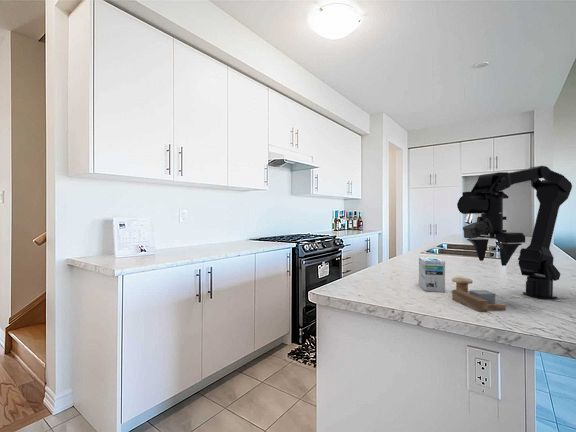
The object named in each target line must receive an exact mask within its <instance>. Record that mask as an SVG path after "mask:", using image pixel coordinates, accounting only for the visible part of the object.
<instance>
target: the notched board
mask: <svg viewBox="0 0 576 432" xmlns="http://www.w3.org/2000/svg"><path fill="white" fill-rule="evenodd" d="M451 294H452V301H455V302H457V303H459V304H461V305H463V306H465V307H467V308H470V309H472V310H474V311H476V312H478V313H488V312H489V311H490V312H491V311H492V312H495V311H496V312H497V311H500V312H501V311H506V309H507V306H506V305H507V304H504V303H495V304H487V301H486V300H484V299H481V298H479V297H476V296H474V295H471V294H469V293H466V292H464V291H461V290H456V289H452V290H451Z"/></svg>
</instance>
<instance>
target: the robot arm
mask: <svg viewBox="0 0 576 432" xmlns="http://www.w3.org/2000/svg"><path fill="white" fill-rule="evenodd" d="M541 179H542V180H541ZM529 181H530V185H531V187H532V189H534V190H535V191H536V192H535V193H536V195H535V196H536V198H537V200H538V202H539V207H538V211H537V215H536V219H535V223H534V227H533V231H532V236H531V239H530V243H529V245H528V246H527V247H526V248H525V247H521V249H520V251H519V256H518V258H517V261H518V266H519V269H520V273H521V276H526V281H525V291H523V292H522V294H523V295H527V296H530V297H533V298H536V299H541V300H543V299H547V300H548V299H558V296H556V295H554V292H553V291H554V290H553V289H554V281H555V282H557V281H559V280H560V277H561V273H560V271H559V270H558V268H557V267H556V266H555V265H554V256H553V253H552V252H551V249H550V247H551V245H552V244H551V242H552V239H553V235H554V231H555V228H556V227H555V226H556V223H557V217H558V213H559V210H560V206H562V205H563V204H564V203H565V202H566V201H567V200H568V199H569V197H570V193H571V192H572V190H573V185H572V182H571V181H570V180H569V179H568V178H567V177H566V176H565V175H563V174H562V173H559V172H557V171H554V170H551V169H550V168H549V167H548V166H545V165H539V166H538V165H537V166H532V167H531V166H530V167H529V168H524V169H520V170H515V171H511V172H508V171H505V172H504V171H501V172H500V171H498V172H491V173H483V174H480V175H479V176H478V178H477V181H476V183H475V184H474V186H473V187H472V188H471V190H470V191H463V192H462V194H461V195H462V196H460V197H459V198H458V201H457V204H456V206H457V209H458V211H459V213H460V214H463V215H477V214H479V215H480V216H477V218H476V221H475V222H471V223H470V224H466V225H465V226H463V227H462V230H463V238H464V239H466V241H468V242H469V243H471V244H472V245H473V247H474V249H475V252H476V255H477V257H478V260H479V261H480V262H482V261H484V260H485V257H486V254H487V253H486V252H487V248H488V244H489V239H491V240H496V241H497V242H496V243H495V244H496V245H497V247H498V248H499V252H500V253H499V254H500V264H501V267H502V266H503V267H506V266H507V264H508V263H509V261H510V259H511V258H512V256H513V255H514V253H515V252H516V250H517V248H518V247H519V246H522V244H523V243H526V235H525V234H524V233H523V232H516V231H507V229H504V221H507V216H504V200H503V199H505V200H506V199H509V195H507V194H506V193H505V192H504V190H506V189H509V188H510V187H512V186H513V185H515V184H519V183H524V182H529Z"/></svg>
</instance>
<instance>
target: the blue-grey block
mask: <svg viewBox="0 0 576 432" xmlns="http://www.w3.org/2000/svg"><path fill="white" fill-rule="evenodd" d="M469 291H470V294H471V295H474V296H476V297H479V298H481V299H484V300H486V301H487V304H496V293H494V292H492V291H489V290H485V289H480V290H479V289H477V290H476V289H475V290H472V289H471V290H469Z"/></svg>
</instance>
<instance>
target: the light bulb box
mask: <svg viewBox="0 0 576 432" xmlns="http://www.w3.org/2000/svg"><path fill="white" fill-rule="evenodd" d="M418 285H419V286H420V287H421V288H422V289H423V290H424V291H425V292H438V293H439V292H440V293H445V292H446V261H444V260H442V259H440V258H438V257H435V256H418Z"/></svg>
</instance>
